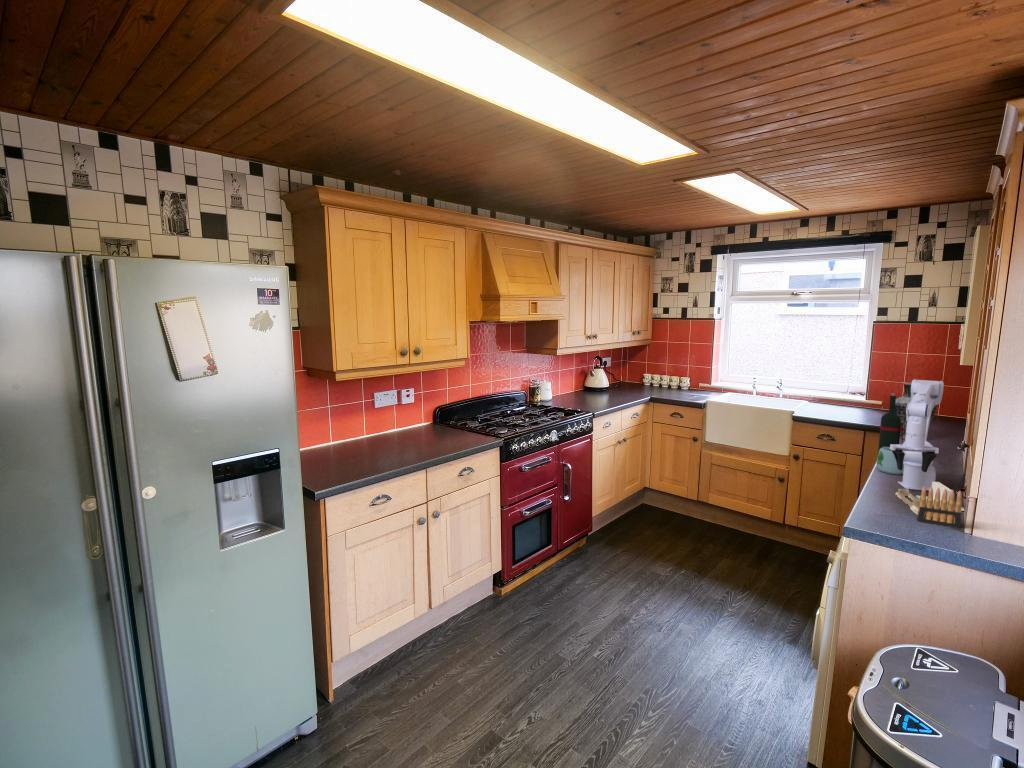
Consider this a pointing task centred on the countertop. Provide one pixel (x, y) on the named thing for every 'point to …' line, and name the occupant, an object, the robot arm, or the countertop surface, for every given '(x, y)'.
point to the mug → (887, 461)
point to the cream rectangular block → (938, 485)
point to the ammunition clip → (940, 508)
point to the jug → (902, 405)
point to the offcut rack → (913, 505)
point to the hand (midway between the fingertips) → (911, 470)
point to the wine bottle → (890, 426)
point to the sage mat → (933, 502)
